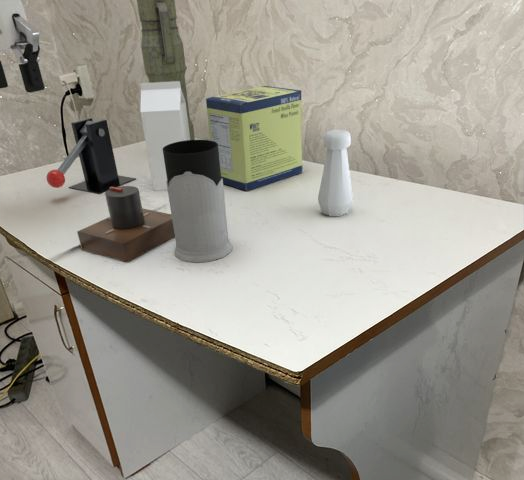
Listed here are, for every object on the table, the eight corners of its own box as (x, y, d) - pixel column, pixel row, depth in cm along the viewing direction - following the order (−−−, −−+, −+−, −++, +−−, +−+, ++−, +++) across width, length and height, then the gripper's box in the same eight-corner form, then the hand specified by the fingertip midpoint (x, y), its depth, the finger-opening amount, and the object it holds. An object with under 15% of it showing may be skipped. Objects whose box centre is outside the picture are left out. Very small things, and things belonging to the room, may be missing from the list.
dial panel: (127, 262, 78) (122, 242, 77) (81, 249, 83) (76, 230, 81) (180, 233, 86) (178, 214, 85) (136, 223, 91) (132, 205, 89)
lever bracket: (100, 199, 103) (84, 129, 95) (69, 193, 107) (51, 125, 100) (137, 184, 109) (124, 117, 102) (107, 178, 114) (92, 114, 106)
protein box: (303, 172, 110) (302, 89, 101) (246, 192, 101) (240, 103, 93) (269, 163, 116) (265, 84, 107) (212, 181, 108) (203, 97, 99)
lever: (62, 192, 99) (50, 180, 96) (51, 190, 100) (39, 178, 97) (105, 133, 103) (95, 119, 100) (94, 131, 104) (84, 118, 102)
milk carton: (191, 193, 102) (176, 84, 92) (154, 195, 103) (135, 86, 92) (195, 182, 108) (182, 78, 97) (161, 184, 109) (144, 80, 98)
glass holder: (169, 263, 77) (151, 156, 69) (186, 225, 89) (172, 130, 80) (229, 261, 77) (218, 153, 68) (238, 224, 88) (230, 128, 80)
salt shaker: (312, 209, 92) (312, 129, 85) (342, 203, 93) (344, 125, 86) (327, 220, 87) (328, 137, 80) (358, 214, 89) (362, 132, 81)
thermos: (169, 164, 120) (140, -26, 100) (151, 154, 128) (121, -24, 109) (205, 157, 123) (184, -29, 103) (185, 147, 132) (162, -26, 112)
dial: (151, 220, 83) (145, 186, 80) (128, 231, 80) (120, 196, 77) (128, 215, 86) (122, 182, 83) (105, 225, 83) (97, 191, 80)
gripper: (-77, -35, 80) (-34, 91, 90) (-8, -43, 72) (30, 96, 81) (-30, -36, 85) (5, 84, 95) (38, -44, 77) (69, 88, 86)
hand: (17, 89), depth 88 cm, fingers open, 9 cm apart
